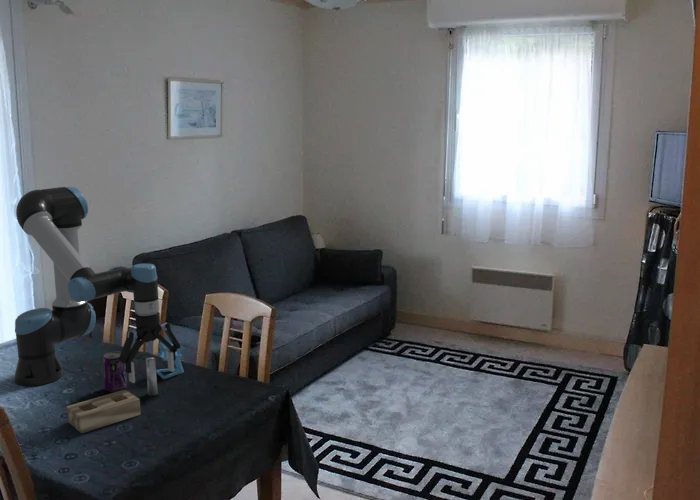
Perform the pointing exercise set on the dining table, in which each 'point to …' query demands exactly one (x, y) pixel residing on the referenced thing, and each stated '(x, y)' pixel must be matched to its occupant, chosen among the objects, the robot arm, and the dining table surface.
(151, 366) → the pin
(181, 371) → the chair
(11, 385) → the dining table surface
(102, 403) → the hole block
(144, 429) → the dining table surface
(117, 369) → the beverage can
